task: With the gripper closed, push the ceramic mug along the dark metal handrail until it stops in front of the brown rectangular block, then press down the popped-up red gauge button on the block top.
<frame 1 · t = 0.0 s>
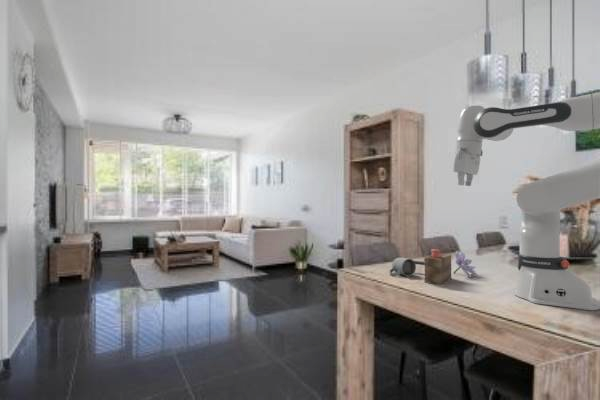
hand: (464, 185, 126), 39 cm above the table, tool pointing down, fingers open, 8 cm apart
ceramic mug: (401, 275, 145), on the table
handrail: (417, 272, 149), on the table
water lily: (465, 275, 143), on the table
gauge button: (435, 257, 132), point 10 cm above the table, slide at 0.0 cm
brown rectangular block: (438, 280, 134), on the table
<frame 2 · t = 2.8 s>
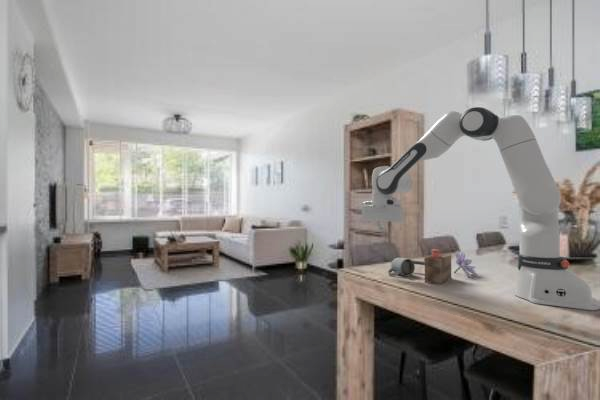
hand: (381, 230, 151), 19 cm above the table, tool pointing down, fingers closed
nothing on the table moved.
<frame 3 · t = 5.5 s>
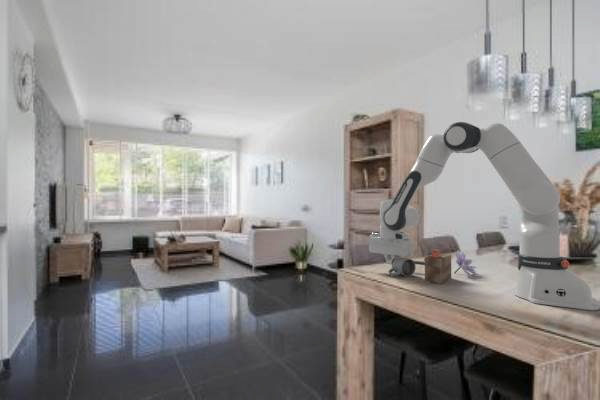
hand: (389, 264, 149), 4 cm above the table, tool pointing down, fingers closed
ceramic mug: (400, 275, 144), on the table, touching gripper
everything else where it was.
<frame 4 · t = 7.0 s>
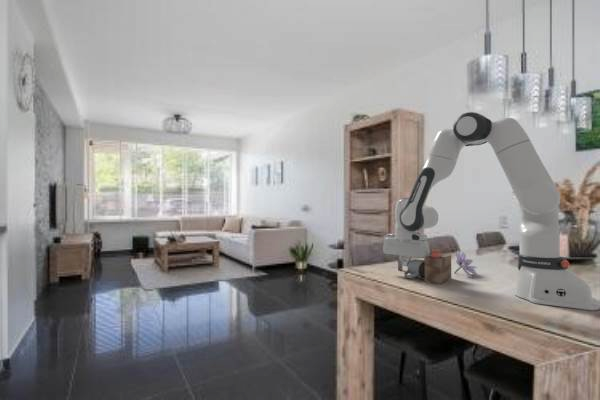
hand: (405, 265, 144), 4 cm above the table, tool pointing down, fingers closed
ceramic mug: (417, 277, 139), on the table, touching brown rectangular block, gripper
everything else where it was.
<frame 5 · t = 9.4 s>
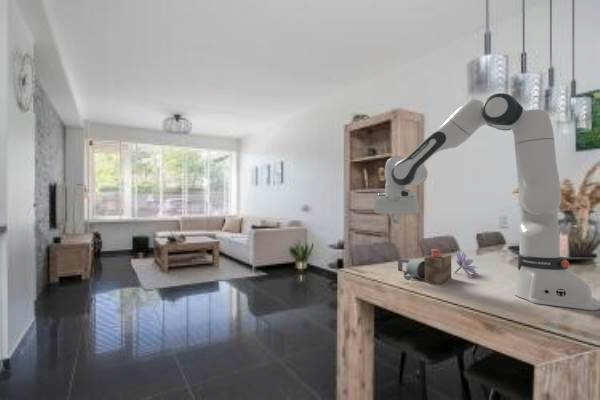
hand: (395, 223, 147), 23 cm above the table, tool pointing down, fingers closed
ceramic mug: (416, 278, 139), on the table
everything else where it was.
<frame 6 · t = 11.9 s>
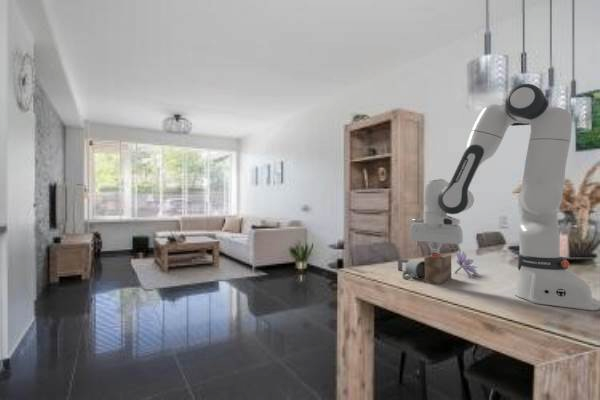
hand: (435, 253, 132), 12 cm above the table, tool pointing down, fingers closed, pressing on gauge button
gauge button: (435, 260, 132), point 8 cm above the table, slide at 1.5 cm, touching gripper
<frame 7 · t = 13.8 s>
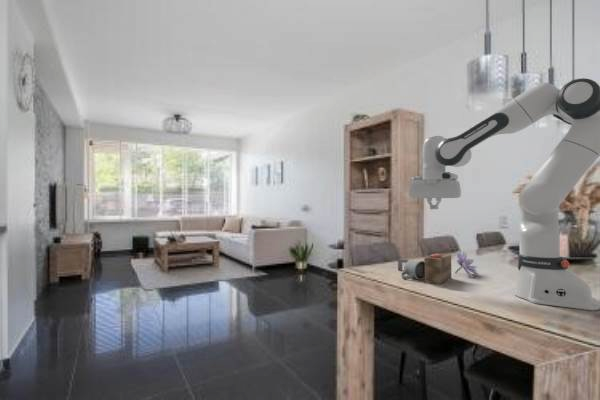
hand: (434, 209, 135), 29 cm above the table, tool pointing down, fingers closed
gauge button: (435, 262, 132), point 8 cm above the table, slide at 2.1 cm
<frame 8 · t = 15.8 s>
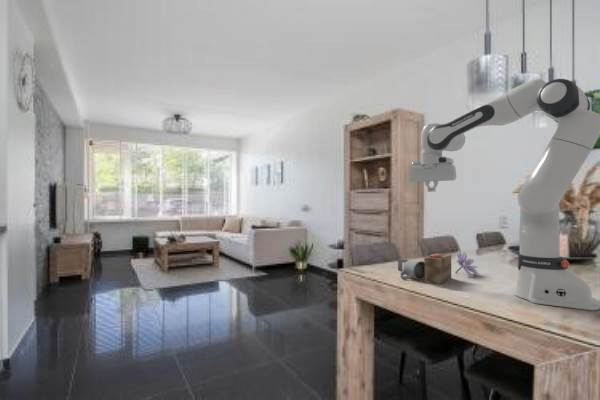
hand: (431, 191, 146), 37 cm above the table, tool pointing down, fingers closed
at the end: ceramic mug inside the target area (3.2 cm from its centre), on the table; ceramic mug tilted 0°; gauge button slide at 2.1 cm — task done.
